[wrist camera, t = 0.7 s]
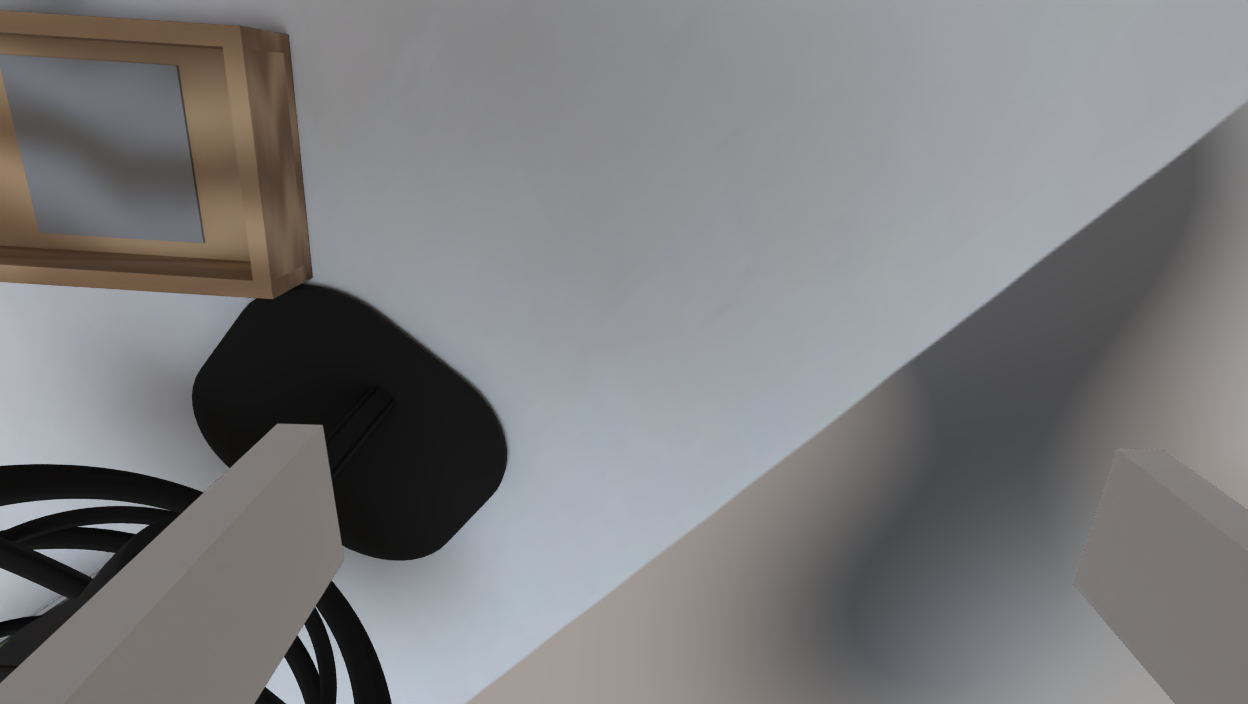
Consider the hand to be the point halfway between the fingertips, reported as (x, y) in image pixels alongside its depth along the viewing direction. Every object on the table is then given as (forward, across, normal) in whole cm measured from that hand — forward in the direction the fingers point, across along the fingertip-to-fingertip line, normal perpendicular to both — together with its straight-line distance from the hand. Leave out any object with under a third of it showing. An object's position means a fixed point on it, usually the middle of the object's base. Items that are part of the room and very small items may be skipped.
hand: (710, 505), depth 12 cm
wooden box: (+32, -33, +2) cm, 46 cm away
